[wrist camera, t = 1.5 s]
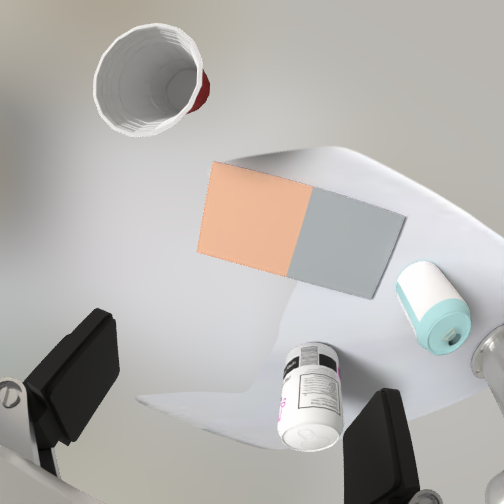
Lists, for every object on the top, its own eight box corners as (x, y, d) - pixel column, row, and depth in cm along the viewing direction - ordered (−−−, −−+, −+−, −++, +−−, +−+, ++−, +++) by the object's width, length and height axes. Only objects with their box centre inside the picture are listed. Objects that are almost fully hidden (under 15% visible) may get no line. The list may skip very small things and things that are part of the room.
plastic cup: (199, 150, 35) (154, 161, 24) (135, 107, 33) (75, 105, 22) (251, 78, 30) (227, 53, 19) (181, 37, 29) (133, 7, 18)
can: (444, 260, 35) (484, 306, 24) (432, 304, 37) (463, 358, 26) (399, 257, 36) (432, 307, 25) (390, 304, 38) (412, 361, 28)
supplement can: (346, 365, 44) (353, 443, 30) (301, 383, 46) (295, 458, 33) (324, 331, 42) (327, 413, 28) (275, 352, 44) (263, 431, 31)
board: (403, 215, 34) (405, 216, 33) (369, 297, 38) (370, 299, 38) (214, 161, 35) (213, 161, 34) (198, 250, 40) (196, 252, 39)
